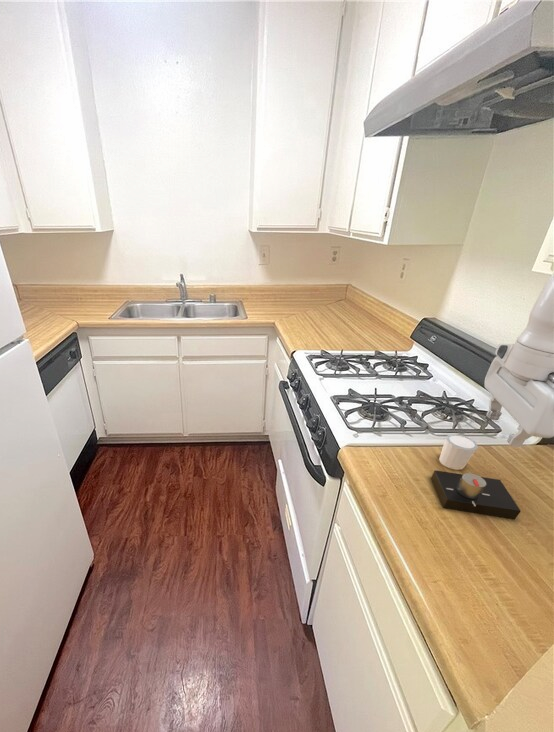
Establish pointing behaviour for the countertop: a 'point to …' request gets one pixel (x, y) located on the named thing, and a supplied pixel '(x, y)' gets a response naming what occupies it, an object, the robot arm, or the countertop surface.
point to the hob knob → (471, 486)
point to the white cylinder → (457, 451)
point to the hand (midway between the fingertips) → (501, 430)
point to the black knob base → (489, 502)
